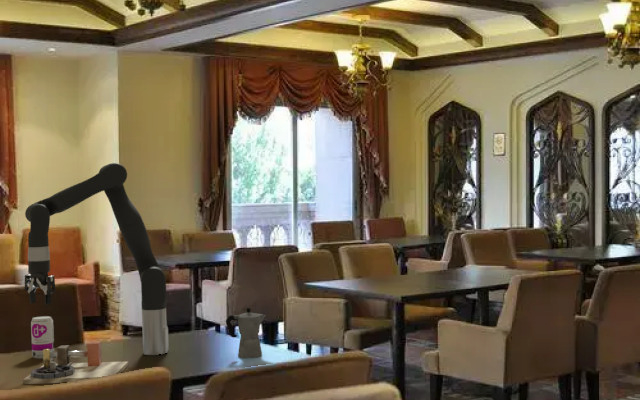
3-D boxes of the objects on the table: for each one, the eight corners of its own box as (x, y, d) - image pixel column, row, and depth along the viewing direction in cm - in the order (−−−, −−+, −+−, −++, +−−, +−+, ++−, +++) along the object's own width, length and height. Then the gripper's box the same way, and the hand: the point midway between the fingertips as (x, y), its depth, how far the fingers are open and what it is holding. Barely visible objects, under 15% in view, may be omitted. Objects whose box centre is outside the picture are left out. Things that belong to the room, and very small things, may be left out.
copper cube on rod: (101, 363, 318) (101, 341, 318) (99, 365, 314) (98, 343, 314) (51, 364, 318) (50, 342, 318) (48, 367, 314) (47, 344, 314)
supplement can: (47, 359, 336) (46, 319, 336) (28, 358, 338) (26, 319, 337) (58, 354, 344) (56, 316, 343) (38, 354, 346) (37, 315, 345)
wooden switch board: (128, 365, 320) (127, 342, 320) (113, 381, 296) (112, 356, 296) (45, 368, 320) (44, 345, 320) (23, 384, 296) (22, 359, 296)
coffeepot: (263, 351, 338) (261, 304, 338) (270, 356, 329) (269, 307, 329) (224, 355, 333) (222, 307, 332) (230, 360, 324) (228, 311, 324)
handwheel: (25, 373, 305) (25, 351, 305) (65, 367, 313) (65, 346, 313) (39, 380, 293) (38, 358, 293) (80, 374, 301) (79, 352, 301)
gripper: (60, 259, 320) (61, 303, 320) (35, 257, 328) (36, 301, 328) (42, 260, 313) (44, 306, 314) (17, 259, 322) (19, 304, 322)
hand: (40, 303), depth 321 cm, fingers open, 8 cm apart
